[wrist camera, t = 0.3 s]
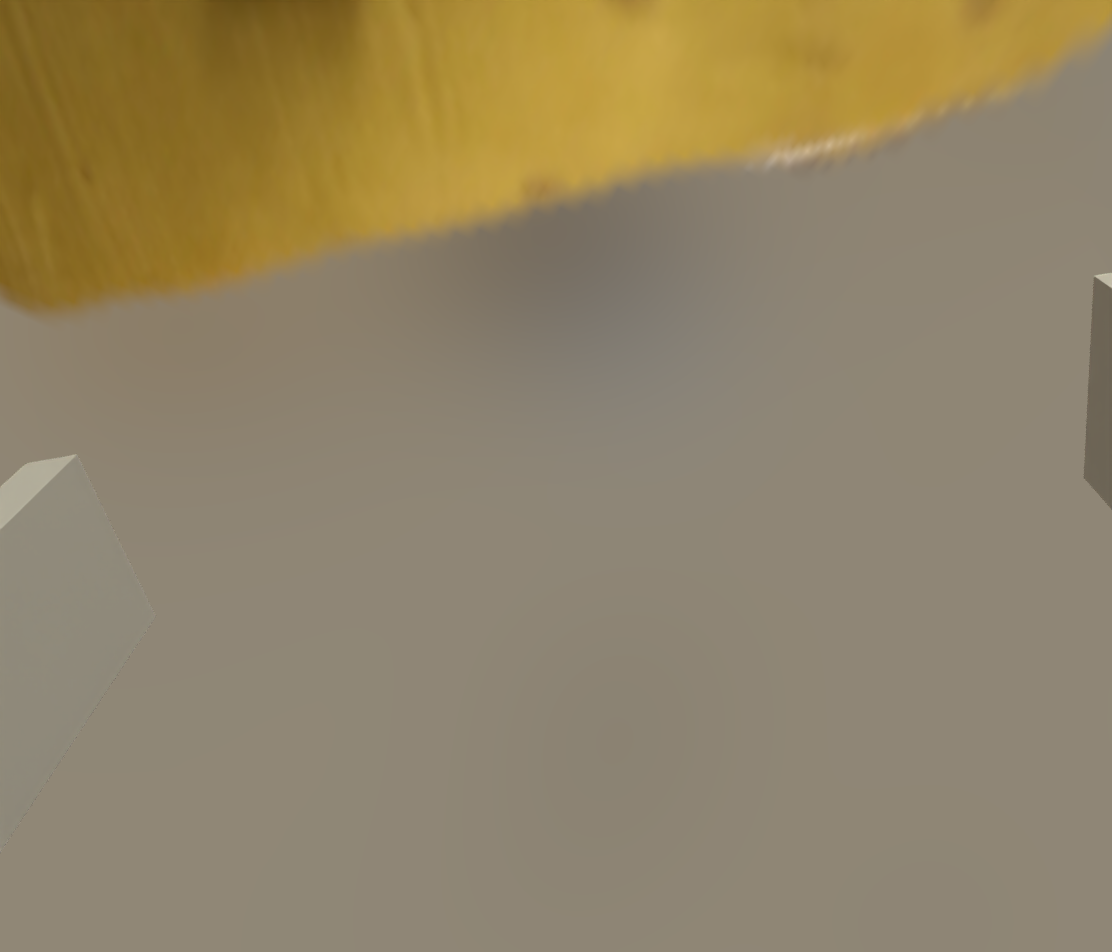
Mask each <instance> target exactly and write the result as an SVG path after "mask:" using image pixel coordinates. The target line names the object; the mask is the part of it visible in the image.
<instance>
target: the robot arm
mask: <svg viewBox="0 0 1112 952" xmlns="http://www.w3.org/2000/svg"><path fill="white" fill-rule="evenodd" d="M1093 285H1094V286H1093V304H1092V324H1091V345H1090V365H1089V384H1088V405H1087V424H1086V425H1087V426H1086V446H1085V465H1084V479H1085V480H1086V481H1087V482H1088V483H1089V484H1090V485H1091V486H1092V487H1093V489H1094V490H1095V491H1096V492H1097V493H1098V494H1099V495H1100V497H1101V498H1102V499H1103V500H1104V501H1105V502H1106V503H1107V505H1108V506H1109V507H1110V508H1111V509H1112V273H1107V274H1101V275H1096V276H1094V284H1093ZM155 617H156V615H155V613H154V611H153V609H152V607H151V605H150V603H149V601H148V599H147V597H146V595H145V593H144V591H143V589H142V586H141V584H140V582H139V580H138V578H137V576H136V574H135V572H134V570H133V568H132V566H131V564H130V562H129V560H128V558H127V556H126V554H125V552H124V550H123V547H122V546H121V544H120V541H119V539H118V537H117V535H116V533H115V531H114V529H113V527H112V525H111V523H110V521H109V519H108V517H107V515H106V513H105V510H104V509H103V506H102V504H101V502H100V500H99V498H98V496H97V494H96V492H95V490H94V488H93V486H92V484H91V482H90V480H89V478H88V476H87V473H86V471H85V469H84V467H83V465H82V463H81V461H80V459H79V457H78V455H70V456H65V457H59V458H53V459H48V460H42V461H36V462H31V463H26V464H25V465H24V466H23V467H21V468H20V469H19V470H18V471H17V472H16V473H15V474H14V475H13V476H12V477H10V478H9V479H8V480H7V481H6V482H5V483H4V484H3V485H2V486H1V487H0V852H1V851H2V849H3V847H4V846H5V844H6V843H7V841H8V840H9V838H10V837H11V835H12V833H13V832H14V831H15V829H16V828H17V826H18V825H19V823H20V822H21V820H22V819H23V817H24V816H25V814H26V813H27V811H28V810H29V808H30V807H31V805H32V804H33V802H34V800H35V799H36V798H37V796H38V794H39V793H40V792H41V790H42V788H43V787H44V785H45V784H46V782H47V781H48V779H49V778H50V776H51V775H52V773H53V772H54V770H55V769H56V767H57V766H58V764H59V763H60V761H61V759H62V758H63V757H64V755H65V754H66V752H67V751H68V749H69V747H70V746H71V744H72V743H73V741H74V740H75V738H76V737H77V735H78V734H79V732H80V731H81V729H82V728H83V726H84V725H85V723H86V722H87V720H88V719H89V717H90V716H91V714H92V713H93V711H94V710H95V708H96V707H97V705H98V704H99V702H100V701H101V699H102V698H103V696H104V695H105V693H106V692H107V690H108V689H109V687H110V685H111V684H112V683H113V681H114V679H115V678H116V676H117V675H118V673H119V672H120V670H121V669H122V667H123V666H124V664H125V663H126V661H127V660H128V658H129V657H130V655H131V654H132V652H133V651H134V649H135V648H136V646H137V645H138V643H139V642H140V640H141V639H142V637H143V635H144V634H145V633H146V631H147V629H148V628H149V627H150V625H151V623H152V622H153V620H154V619H155Z"/></svg>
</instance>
